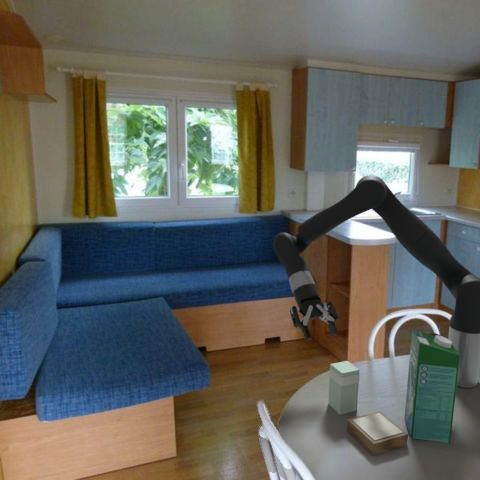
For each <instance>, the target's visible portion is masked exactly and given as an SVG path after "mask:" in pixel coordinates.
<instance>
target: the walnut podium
mask: <svg viewBox="0 0 480 480" xmlns="http://www.w3.org/2000/svg"><path fill="white" fill-rule="evenodd" d="M346 425H347V426H346V431H347V432H348V433H349V434H350V435H351V436H352V437H353V438H354V439H355V440H356V441H357V442H358V443H359V444H360V445H361V446H363V448H364V449H366V451H368V452H369V454H371V455H372V457H373V456H376V455H380V454H383V453H386V452H390V451H393V450H396V449H400V448H403V447H406V446H408V439H409V438H408V437H409V433H407V432H406V431H405V430H404V429H402V427H400V426H398V424H396V423H395V422H394V421H392V420H391V419H390V418H389V417H387V415H385V414H384V413H383V412H382V411H376V412H371V413H367V414H364V415H360V416H357V417H352V418H348V419H347V423H346Z"/></svg>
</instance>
